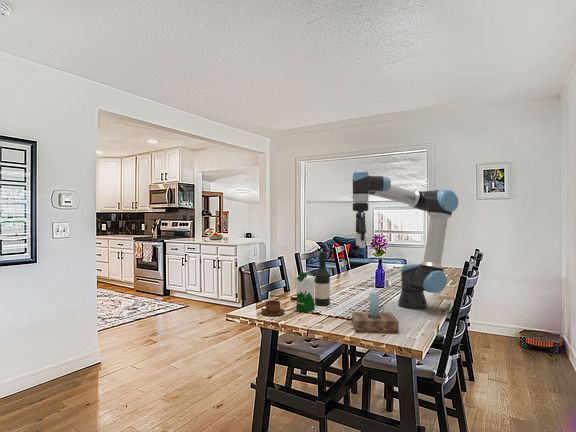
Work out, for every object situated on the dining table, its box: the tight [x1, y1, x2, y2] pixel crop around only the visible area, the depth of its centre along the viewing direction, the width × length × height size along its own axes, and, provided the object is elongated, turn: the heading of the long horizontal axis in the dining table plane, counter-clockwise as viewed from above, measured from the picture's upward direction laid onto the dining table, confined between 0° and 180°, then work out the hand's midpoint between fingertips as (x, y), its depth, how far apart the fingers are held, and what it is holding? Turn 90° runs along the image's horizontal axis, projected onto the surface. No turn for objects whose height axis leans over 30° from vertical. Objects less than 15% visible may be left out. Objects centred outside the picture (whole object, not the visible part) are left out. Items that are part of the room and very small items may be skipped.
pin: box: [369, 292, 380, 318], centre depth 163 cm, size 4×4×14 cm
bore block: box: [351, 311, 400, 334], centre depth 163 cm, size 18×14×5 cm
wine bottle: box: [314, 250, 331, 307], centre depth 207 cm, size 8×8×30 cm
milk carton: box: [294, 271, 316, 314], centre depth 194 cm, size 9×9×20 cm
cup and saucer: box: [260, 300, 286, 317], centre depth 187 cm, size 12×12×6 cm
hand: (360, 246), depth 180 cm, fingers open, 13 cm apart
